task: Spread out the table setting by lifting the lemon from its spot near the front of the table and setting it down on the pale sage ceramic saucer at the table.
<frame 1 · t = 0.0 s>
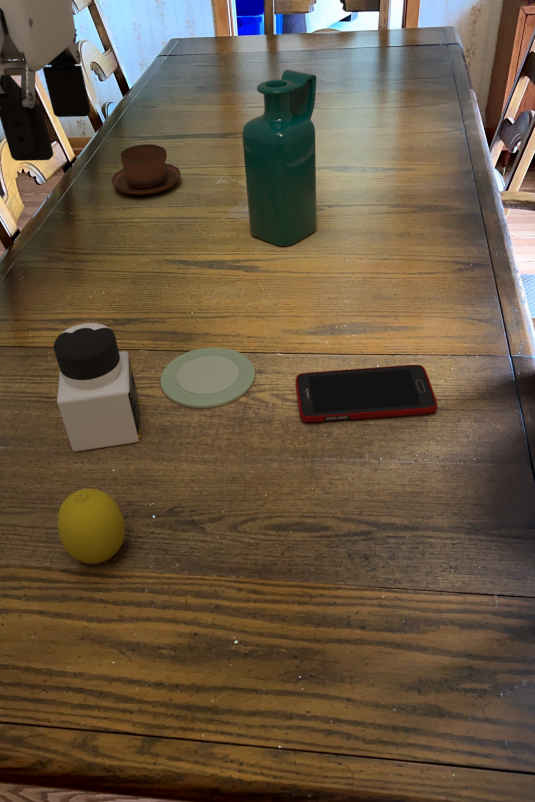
hand: (54, 135, 59), 31 cm above the table, tool pointing down, fingers open, 9 cm apart
lemon: (101, 557, 64), on the table
saucer: (208, 377, 83), on the table
pitcher: (286, 231, 111), on the table
cup and saucer: (148, 187, 127), on the table
cell phone: (364, 397, 79), on the table
medicine bottle: (107, 427, 78), on the table
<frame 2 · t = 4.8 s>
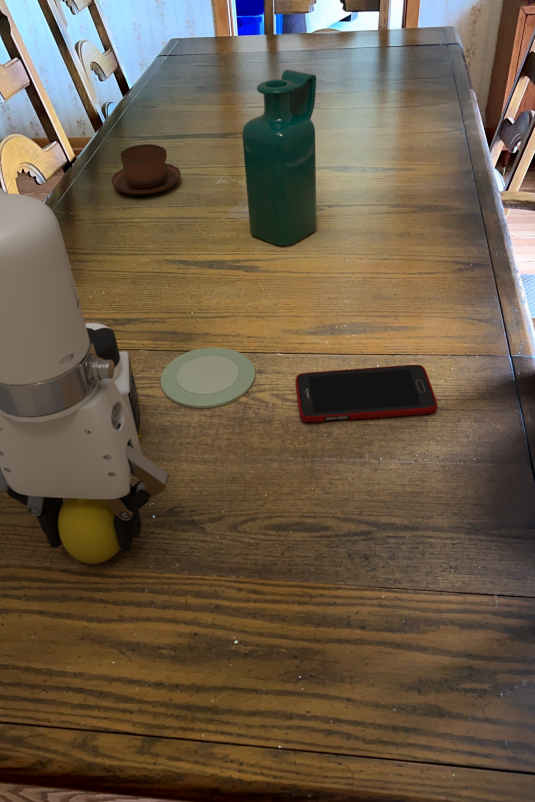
hand: (94, 535, 62), 3 cm above the table, tool pointing down, fingers closed on lemon, 5 cm apart
lemon: (102, 557, 64), on the table, touching gripper
everything else where it was.
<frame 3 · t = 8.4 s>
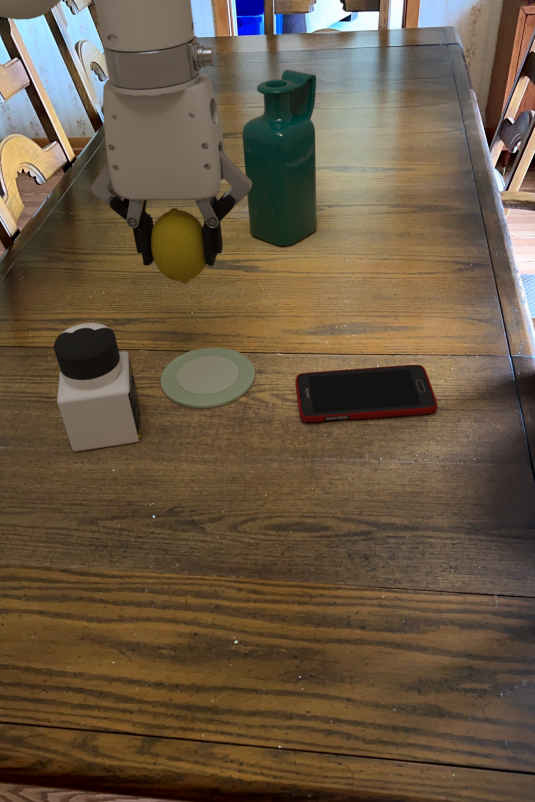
hand: (181, 257, 71), 17 cm above the table, tool pointing down, fingers closed on lemon, 5 cm apart
lemon: (185, 284, 73), point 14 cm above the table, touching gripper
everything else where it was.
when the fingers open (3 cm above the table, at t = 11.9 s): lemon stays where it is, resting on saucer.
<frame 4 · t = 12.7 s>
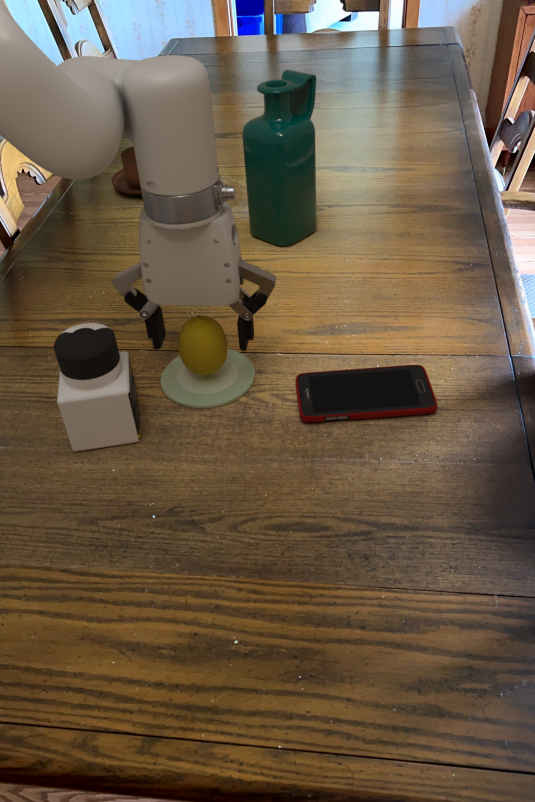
hand: (202, 343, 80), 5 cm above the table, tool pointing down, fingers open, 9 cm apart
lemon: (207, 375, 83), resting on saucer
everything else where it was.
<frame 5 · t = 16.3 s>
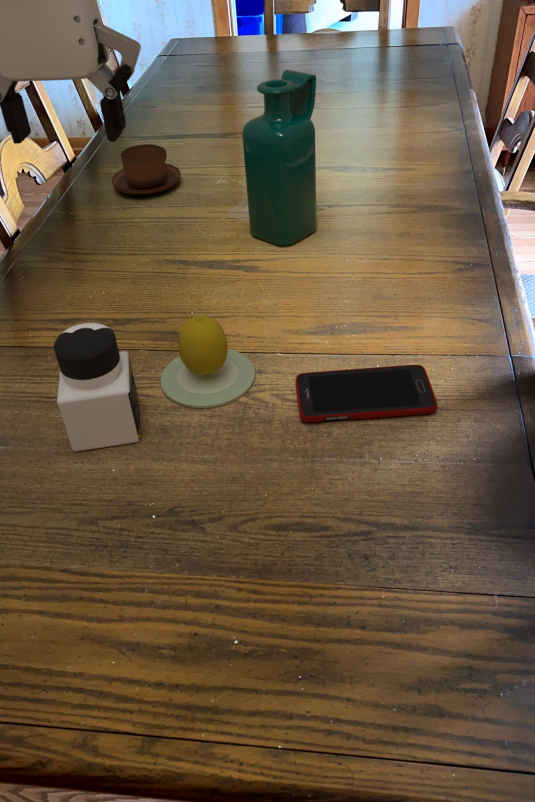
hand: (69, 137, 71), 26 cm above the table, tool pointing down, fingers open, 9 cm apart
nothing on the table moved.
at the end: lemon 0.1 cm off-centre on the saucer, point 0.3 cm above the saucer's base; the gripper is holding nothing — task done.
